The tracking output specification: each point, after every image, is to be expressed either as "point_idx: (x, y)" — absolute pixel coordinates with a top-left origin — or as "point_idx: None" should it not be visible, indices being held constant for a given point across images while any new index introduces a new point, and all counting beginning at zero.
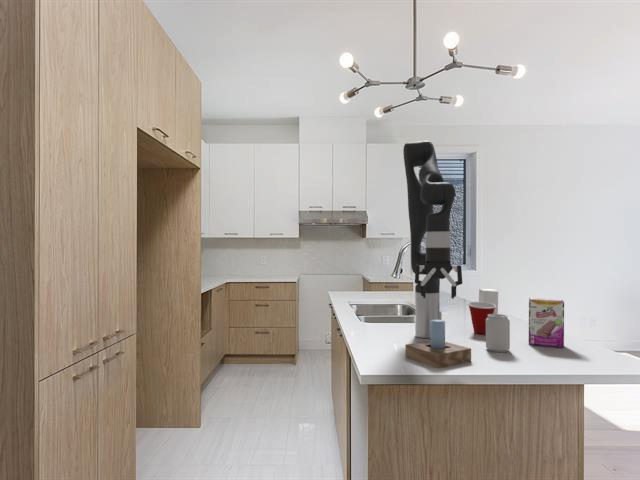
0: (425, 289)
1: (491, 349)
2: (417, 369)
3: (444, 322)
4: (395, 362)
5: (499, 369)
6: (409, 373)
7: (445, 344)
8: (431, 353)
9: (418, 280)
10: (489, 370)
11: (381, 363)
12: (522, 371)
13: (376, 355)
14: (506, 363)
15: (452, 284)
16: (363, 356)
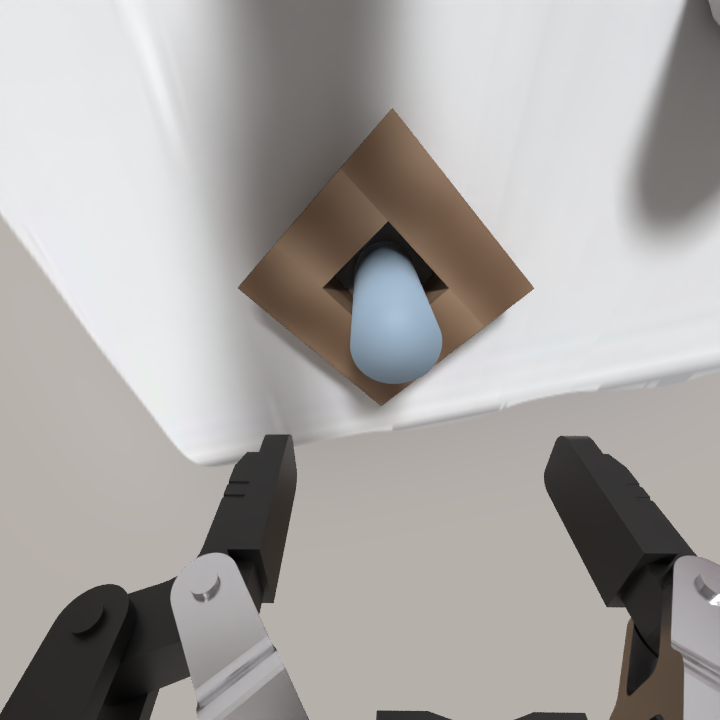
0: (273, 505)
1: (714, 17)
2: (317, 400)
3: (434, 361)
4: (235, 347)
5: (580, 345)
6: (299, 436)
7: (426, 235)
8: (358, 385)
9: (148, 705)
10: (541, 362)
11: (194, 369)
12: (649, 349)
13: (133, 271)
14: (649, 261)
15: (635, 646)
16: (94, 299)
